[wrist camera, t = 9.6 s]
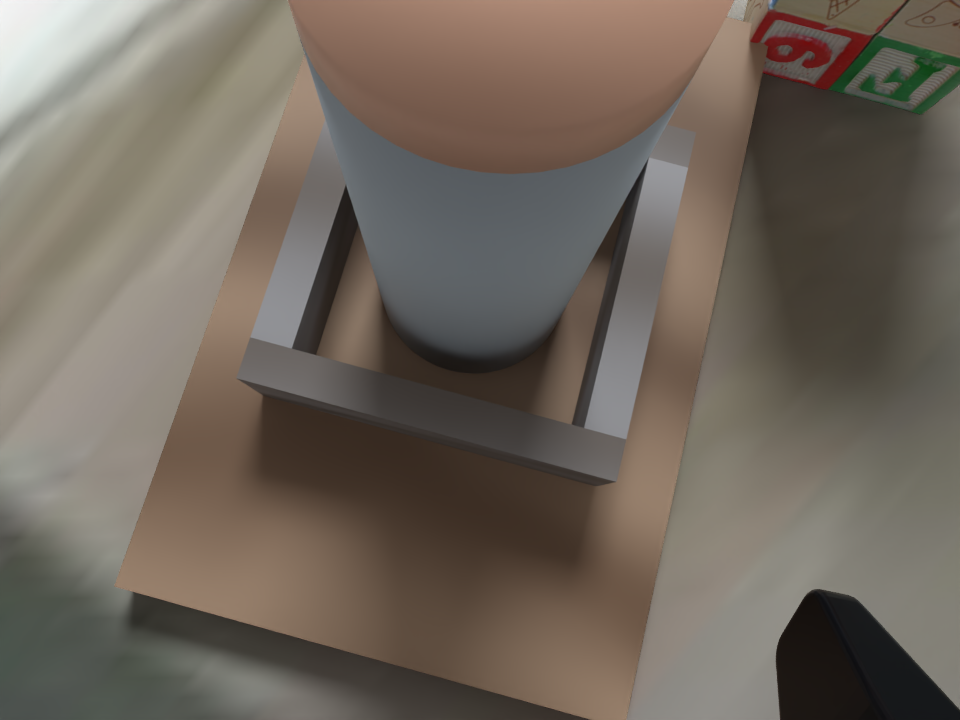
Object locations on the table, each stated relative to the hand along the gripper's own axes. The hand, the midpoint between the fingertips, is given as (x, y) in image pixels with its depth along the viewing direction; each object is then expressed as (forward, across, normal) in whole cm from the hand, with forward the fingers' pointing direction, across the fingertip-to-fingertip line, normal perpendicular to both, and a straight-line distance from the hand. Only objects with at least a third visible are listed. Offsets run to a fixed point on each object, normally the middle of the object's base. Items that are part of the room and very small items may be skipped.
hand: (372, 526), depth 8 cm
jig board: (+14, 0, +4) cm, 14 cm away
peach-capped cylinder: (+13, 0, +4) cm, 13 cm away
